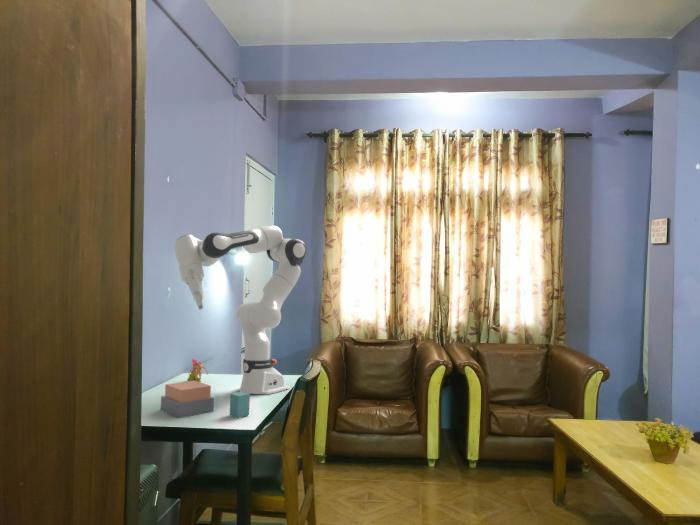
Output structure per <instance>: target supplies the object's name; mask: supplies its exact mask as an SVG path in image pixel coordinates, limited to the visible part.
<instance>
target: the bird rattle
mask: <svg viewBox="0 0 700 525" xmlns="http://www.w3.org/2000/svg"><path fill="white" fill-rule="evenodd" d="M191 362H192V368H193V367H195V366H197V365H198V363H200V364H201V365H202V362H201V361H199V362H198V361H197V359H194V358H193V359H192V361H191ZM195 372H197V368H193V369H192V371H191V372H190V374H188V375H189V376H188V377H187V380H186V382H187V381H196V379H195V374H196V373H195ZM197 382H199V375H198V376H197ZM200 382H201V383H202V380H201V379H200Z"/></svg>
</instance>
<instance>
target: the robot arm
mask: <svg viewBox="0 0 700 525" xmlns="http://www.w3.org/2000/svg"><path fill="white" fill-rule="evenodd" d="M283 235H284V234H283V231H282V230H281V228H280V227H278V226H277V225H262V226H257V227H253V228H250V229H247V230H243V231H242V230H241V231H238V232H231V233H222V232H212V233H209V234H208V235H207V236H206V237H205V238H204V239H203V240H202V239H199V238H197V237H195V236H194V235H192V234H184V235H182V236H180V237H179V238H177V239H176V241H174V252H175V257H176V261H177V263H178V269H179V274H180V278H181V281H182V282H184V283H185V284H186V285H187V286H188V287H189V291H190V292H191V296H192V298H193V300H194V302H195V303H196V306H197V307H198V310H199V311H200V310H201V311H202V310H204V306H203V300H204V293H203V292H204V291H203V282H202V281H203V279H204V276H205V272H204V269H203V267H210V266H213V265H215V263H216V262H218V261H219V260H220V259H221V258H222V257H224V256H225V255H226V254H228V252H229V251H231V250H235V249H239V248H243V249H244V251H246V252H248V253H250V254H258V253H262V252H265V251H266V256H267V257H268V258H269V260H271V261H272V262H276V263H279V264H278V267H277V269H276V270H275V272H274V273H273V274H272V276H270V278H269V280H268V281H267V283H265V284H264V286H263V287H262V288H263V289H262V292H263V295H262V298H261V299H260V301H259V302H253V301H249V302H245V303H242V304H240V305H239V307H237V308H238V309H237V310H236V318H237V321H239V323H240V325H241V329H242V330H241V331H242V333H243V334H242V335H243V338H244V356H243V357H244V358H242V359H243V361H242V370H243V371H242V379H241V383H240V387H239V390H238V392H245V393H248V394H250V395H272V394H275V393H278V392H282V391H287V390H289V389H290V387H289V385H288V384H285V380H284V379H285V378H284V376H283V374H282V373H281V372H279V370H277V369H276V368H274V367H273V365H277V363H278V361H277V359H275V358H273V359H271V358H270V357H271V356H270V351H271V350H270V349H271V342H270V339H269V338H268V335H267V333H266V330H270V329H275V328H277V327H278V326H279V324H280V323H281V321H282V313H281V310H282V307H283V305H284V302H285V300H286V299H287V298H288V296H289V294H291V291H292V290H293V289H294V287H295V286H296V284H297V283H298V281H299V278H300V276H301V273H302V270H301V267H300V265H301V264H302V263H303V262H304V258H305V257H306V255H307V254H306V253H307V245H306V244H305V242H304V241H303V240H301V239H297V238H284V236H283ZM286 389H287V390H286Z"/></svg>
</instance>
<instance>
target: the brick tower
mask: <svg viewBox="0 0 700 525" xmlns="http://www.w3.org/2000/svg"><path fill="white" fill-rule="evenodd" d="M211 388H212V386H211V385H209V384H207V383H203V382H202V381H201V382H197V381H187V380H186V381H183V382H182V381H181V382H174V383H168V384H165V388H164V390H165V391H164V392H165V394H164V395H162V396H160V411H162V412H165V413H167V414H169V415H172V416H174V417H176V418H180V419H181V418H184V417H190V416H196V415H200V413H201V414H206V413H211V411H212V412H214V411H215V410H214V408H215V407H214V406H215V405H214V404H215V397H213V396H211ZM205 412H206V413H205Z"/></svg>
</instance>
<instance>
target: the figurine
mask: <svg viewBox="0 0 700 525" xmlns="http://www.w3.org/2000/svg"><path fill="white" fill-rule="evenodd" d="M197 364H198V365H197V366H195V367H194V366H192V368H191V369H190V370H189V372H188V375H190V374H191V371H192V370H193V368H197V372H195V373H196V374H195V379H196V381H197V376H198V377H199V382H200V380H201V379H202V378H201V377H202V374H203V371H202V369H205V372H206V375H209V372H208V368H207V367H206V366H204V365H202V363H201V364H200V363H199V362H197Z"/></svg>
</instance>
